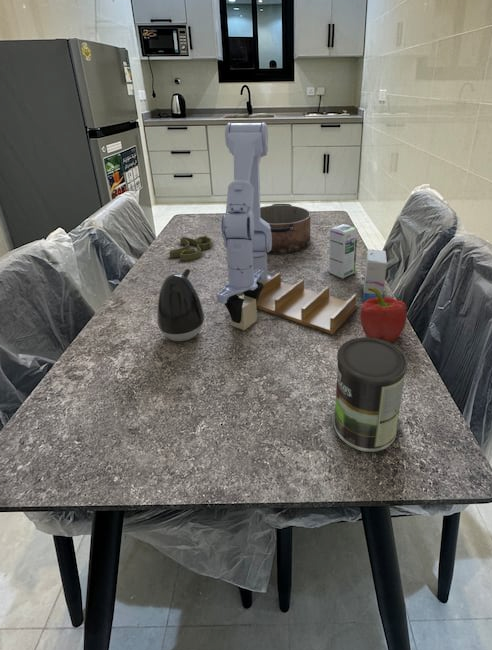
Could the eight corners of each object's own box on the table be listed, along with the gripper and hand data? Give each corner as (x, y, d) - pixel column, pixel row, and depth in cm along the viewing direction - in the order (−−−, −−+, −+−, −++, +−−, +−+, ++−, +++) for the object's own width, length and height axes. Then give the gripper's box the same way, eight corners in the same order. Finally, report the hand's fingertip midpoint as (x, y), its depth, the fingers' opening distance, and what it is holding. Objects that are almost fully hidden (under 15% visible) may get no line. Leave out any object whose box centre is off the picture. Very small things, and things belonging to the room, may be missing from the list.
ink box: (383, 304, 99) (387, 262, 94) (363, 302, 100) (366, 261, 95) (381, 288, 106) (385, 249, 102) (363, 287, 107) (366, 248, 102)
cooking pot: (254, 228, 154) (253, 202, 150) (310, 228, 152) (310, 202, 148) (242, 258, 127) (240, 227, 122) (310, 259, 125) (310, 228, 121)
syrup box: (342, 279, 112) (345, 232, 106) (327, 272, 116) (329, 227, 110) (355, 273, 115) (358, 227, 110) (340, 267, 119) (342, 222, 114)
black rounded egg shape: (214, 325, 91) (208, 267, 85) (191, 351, 82) (182, 289, 76) (177, 318, 94) (168, 262, 88) (150, 342, 85) (139, 282, 79)
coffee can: (341, 455, 58) (346, 383, 53) (328, 404, 68) (331, 338, 62) (407, 450, 59) (419, 378, 53) (384, 400, 68) (392, 334, 63)
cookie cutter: (183, 240, 143) (183, 235, 142) (215, 240, 142) (214, 235, 141) (166, 260, 126) (165, 254, 126) (202, 260, 125) (201, 255, 125)
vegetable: (347, 327, 89) (350, 289, 85) (384, 317, 93) (388, 280, 89) (376, 354, 80) (380, 313, 76) (415, 341, 84) (421, 302, 80)
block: (231, 325, 91) (229, 303, 89) (244, 315, 95) (242, 294, 92) (244, 330, 89) (242, 308, 86) (257, 320, 93) (256, 299, 90)
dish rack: (249, 305, 99) (248, 292, 98) (279, 284, 110) (278, 271, 108) (332, 335, 87) (333, 320, 85) (357, 307, 97) (358, 293, 96)
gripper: (233, 281, 78) (237, 336, 83) (273, 257, 89) (274, 307, 94) (207, 273, 82) (213, 327, 87) (249, 250, 93) (252, 299, 98)
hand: (243, 316), depth 91 cm, fingers closed on block, 5 cm apart
